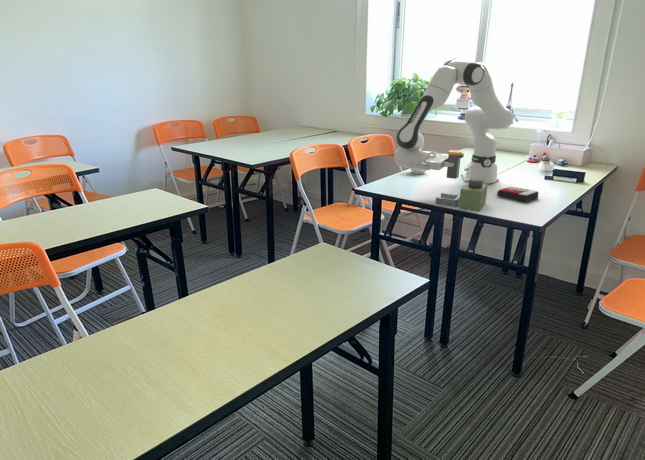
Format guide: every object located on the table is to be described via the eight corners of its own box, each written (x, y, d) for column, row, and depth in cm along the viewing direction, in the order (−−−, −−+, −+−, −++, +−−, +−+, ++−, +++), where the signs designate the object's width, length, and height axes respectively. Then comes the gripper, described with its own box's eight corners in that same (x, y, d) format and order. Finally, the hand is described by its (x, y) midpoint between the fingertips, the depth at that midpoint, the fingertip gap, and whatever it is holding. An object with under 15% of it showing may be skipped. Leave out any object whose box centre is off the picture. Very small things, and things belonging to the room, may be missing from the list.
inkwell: (555, 168, 278) (558, 152, 275) (551, 175, 264) (554, 157, 261) (538, 167, 283) (540, 150, 279) (533, 173, 269) (536, 156, 265)
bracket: (435, 203, 217) (436, 197, 216) (441, 198, 225) (441, 192, 224) (455, 206, 213) (455, 200, 212) (460, 201, 220) (460, 195, 219)
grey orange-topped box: (445, 177, 219) (447, 151, 215) (448, 175, 224) (450, 149, 219) (459, 179, 216) (461, 153, 212) (462, 177, 221) (464, 151, 216)
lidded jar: (405, 172, 276) (406, 156, 273) (421, 170, 280) (422, 154, 277) (416, 176, 267) (417, 159, 264) (431, 174, 271) (432, 158, 268)
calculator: (510, 185, 233) (539, 190, 222) (509, 193, 234) (538, 199, 223) (497, 189, 227) (526, 194, 215) (496, 198, 228) (525, 203, 217)
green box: (458, 208, 211) (460, 182, 206) (464, 200, 221) (467, 175, 217) (479, 211, 206) (482, 184, 202) (485, 203, 217) (488, 177, 213)
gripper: (420, 157, 214) (450, 160, 208) (433, 150, 231) (461, 152, 225) (419, 171, 216) (449, 174, 210) (432, 163, 233) (460, 165, 227)
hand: (455, 163), depth 217 cm, fingers closed on grey orange-topped box, 4 cm apart
